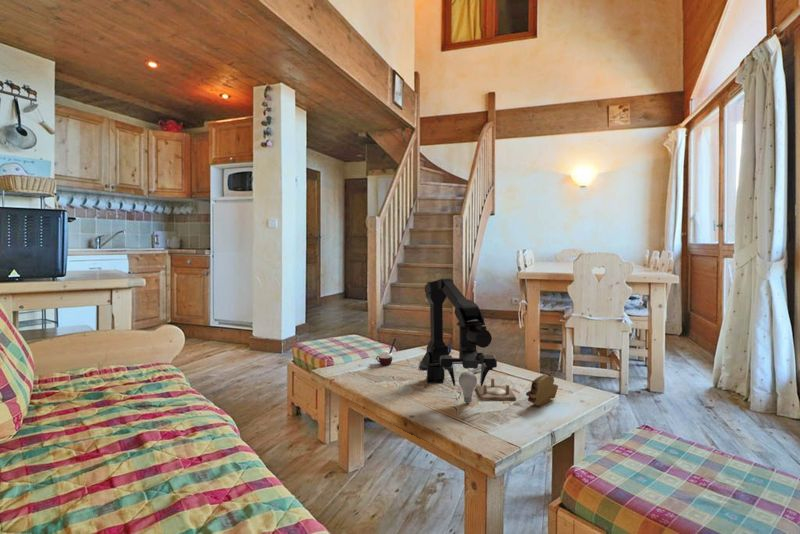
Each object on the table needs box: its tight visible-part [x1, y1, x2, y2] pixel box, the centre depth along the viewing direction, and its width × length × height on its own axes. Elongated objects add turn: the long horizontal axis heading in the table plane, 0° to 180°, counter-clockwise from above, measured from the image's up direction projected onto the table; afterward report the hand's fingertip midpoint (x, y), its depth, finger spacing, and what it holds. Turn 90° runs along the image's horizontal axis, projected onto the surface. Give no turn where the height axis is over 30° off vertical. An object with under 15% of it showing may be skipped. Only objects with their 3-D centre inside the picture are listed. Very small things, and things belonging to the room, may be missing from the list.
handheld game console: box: [419, 342, 452, 371], centre depth 190 cm, size 16×13×9 cm
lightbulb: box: [458, 370, 478, 405], centre depth 145 cm, size 6×6×11 cm
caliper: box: [468, 353, 497, 375], centre depth 181 cm, size 20×1×6 cm, turn 132°
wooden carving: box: [525, 374, 559, 407], centre depth 144 cm, size 16×5×10 cm, turn 134°
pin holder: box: [475, 378, 517, 401], centre depth 154 cm, size 12×12×4 cm
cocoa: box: [375, 338, 397, 366], centre depth 192 cm, size 10×6×12 cm, turn 48°
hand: (467, 386), depth 145 cm, fingers open, 9 cm apart
